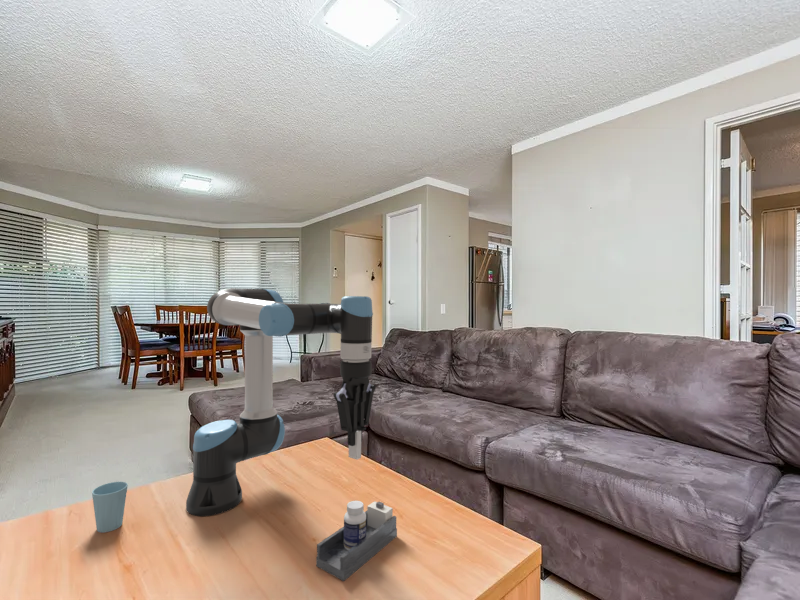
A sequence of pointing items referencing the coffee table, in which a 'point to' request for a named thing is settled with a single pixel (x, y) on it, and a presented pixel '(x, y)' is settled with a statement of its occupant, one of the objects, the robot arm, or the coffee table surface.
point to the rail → (353, 549)
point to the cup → (109, 505)
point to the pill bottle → (354, 524)
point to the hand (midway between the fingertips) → (354, 457)
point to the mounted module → (378, 514)
